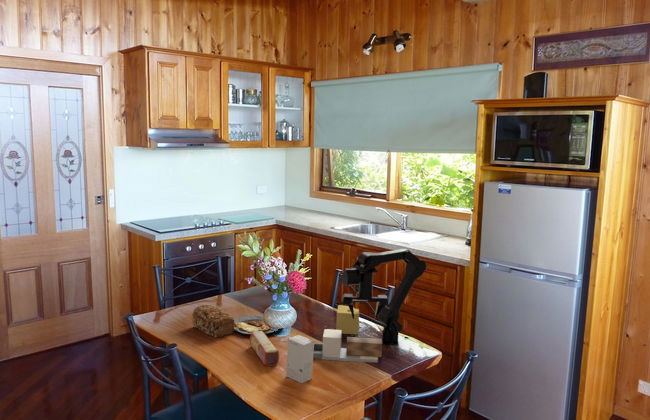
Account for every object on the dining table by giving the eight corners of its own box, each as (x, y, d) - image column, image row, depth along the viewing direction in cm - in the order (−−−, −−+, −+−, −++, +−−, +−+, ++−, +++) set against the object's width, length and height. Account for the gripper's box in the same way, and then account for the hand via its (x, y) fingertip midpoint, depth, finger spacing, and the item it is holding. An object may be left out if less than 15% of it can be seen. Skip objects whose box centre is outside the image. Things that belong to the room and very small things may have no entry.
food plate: (294, 329, 245) (294, 321, 244) (253, 342, 228) (253, 334, 228) (260, 316, 262) (260, 309, 262) (220, 327, 246) (219, 320, 245)
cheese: (359, 326, 250) (360, 306, 249) (358, 335, 240) (359, 314, 238) (336, 325, 251) (337, 304, 250) (335, 334, 241) (335, 312, 239)
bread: (191, 327, 244) (191, 306, 242) (212, 321, 251) (212, 301, 250) (215, 339, 231) (215, 317, 229) (235, 333, 238) (235, 311, 237)
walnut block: (381, 351, 219) (381, 338, 218) (381, 356, 214) (382, 343, 213) (346, 349, 220) (347, 336, 219) (346, 354, 215) (346, 341, 214)
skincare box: (285, 376, 198) (286, 338, 195) (296, 371, 202) (297, 333, 200) (302, 384, 192) (303, 344, 190) (313, 378, 197) (314, 339, 195)
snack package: (280, 365, 207) (280, 348, 206) (263, 367, 205) (263, 351, 204) (264, 344, 227) (264, 329, 226) (249, 346, 224) (249, 331, 223)
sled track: (377, 352, 222) (378, 331, 221) (377, 362, 212) (378, 340, 211) (312, 348, 224) (313, 327, 222) (310, 358, 214) (311, 337, 213)
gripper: (386, 278, 231) (385, 313, 234) (343, 277, 232) (342, 311, 234) (389, 286, 220) (387, 322, 223) (343, 284, 221) (342, 321, 223)
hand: (364, 319), depth 226 cm, fingers open, 9 cm apart
